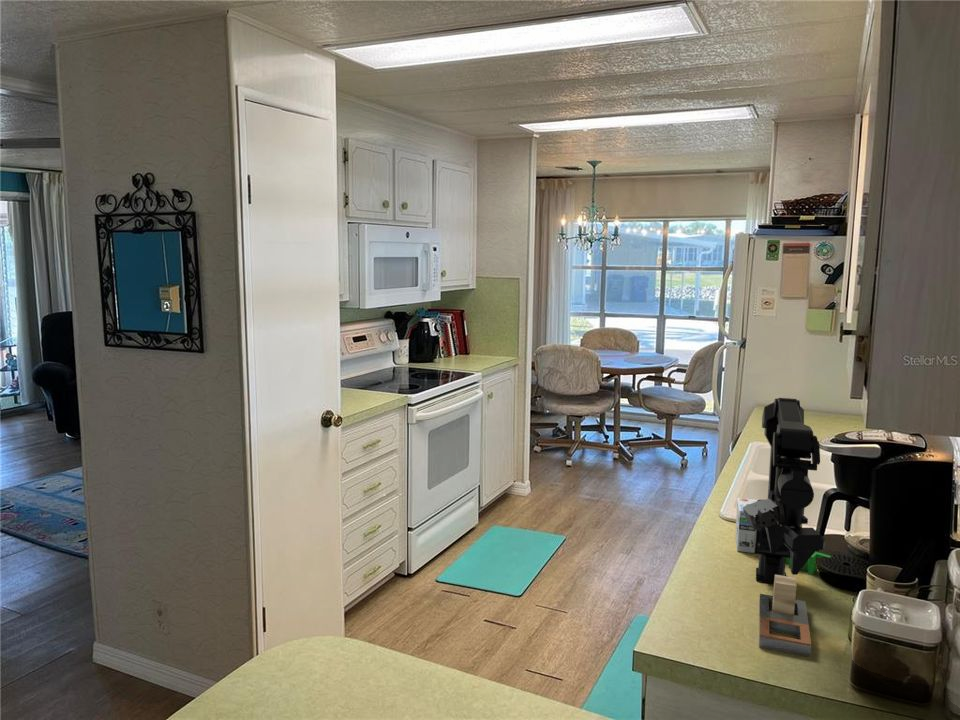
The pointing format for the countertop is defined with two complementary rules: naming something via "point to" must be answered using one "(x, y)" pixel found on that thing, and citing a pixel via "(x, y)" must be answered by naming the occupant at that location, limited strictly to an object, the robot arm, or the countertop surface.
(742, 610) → the countertop surface
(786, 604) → the beech peg
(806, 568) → the pipe clamp
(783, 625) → the grey board
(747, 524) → the light bulb box
